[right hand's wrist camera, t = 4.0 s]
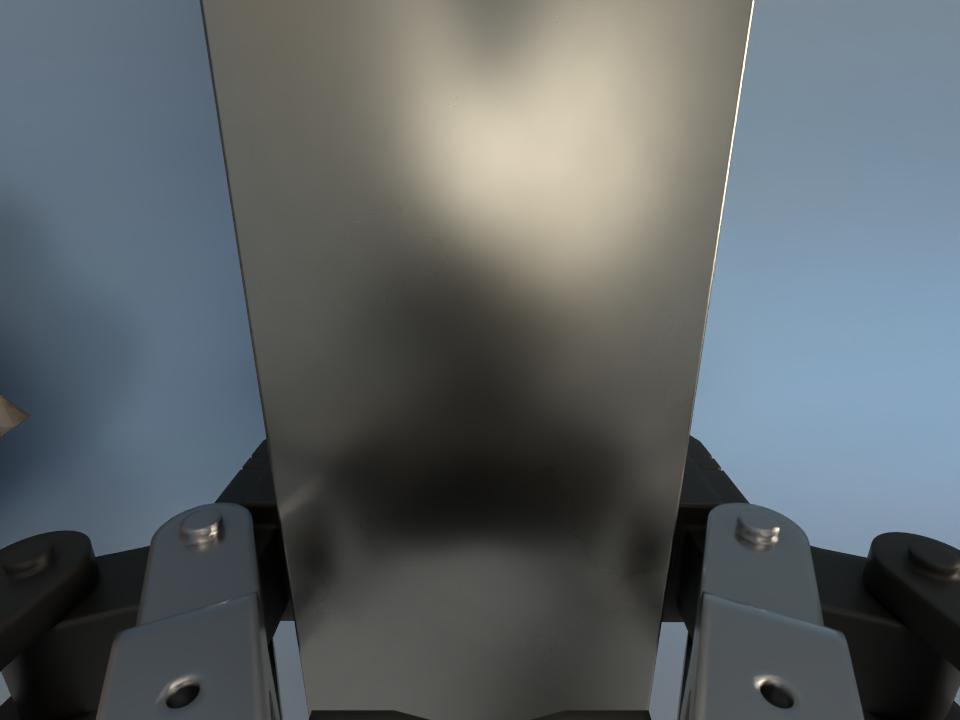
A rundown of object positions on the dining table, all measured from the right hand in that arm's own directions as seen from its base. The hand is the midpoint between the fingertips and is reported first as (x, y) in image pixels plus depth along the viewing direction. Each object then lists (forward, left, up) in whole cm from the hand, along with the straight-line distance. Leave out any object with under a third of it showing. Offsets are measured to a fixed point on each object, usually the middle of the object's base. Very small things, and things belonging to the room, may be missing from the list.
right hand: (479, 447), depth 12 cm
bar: (+9, +5, -4) cm, 11 cm away
